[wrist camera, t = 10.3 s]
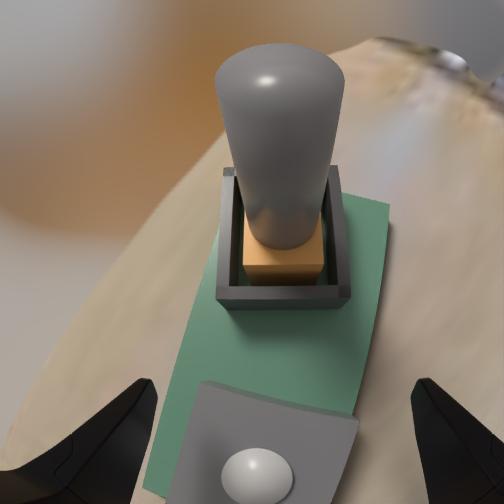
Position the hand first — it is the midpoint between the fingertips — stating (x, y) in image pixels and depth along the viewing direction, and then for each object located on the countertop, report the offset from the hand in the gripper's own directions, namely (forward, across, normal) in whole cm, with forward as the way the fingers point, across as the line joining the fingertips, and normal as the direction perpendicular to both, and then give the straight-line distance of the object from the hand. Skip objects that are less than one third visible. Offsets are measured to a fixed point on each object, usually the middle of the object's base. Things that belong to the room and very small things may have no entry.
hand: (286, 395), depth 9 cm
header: (+10, 0, -1) cm, 10 cm away
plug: (+10, 0, -1) cm, 10 cm away
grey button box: (+1, +1, +8) cm, 8 cm away
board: (+7, +1, +5) cm, 8 cm away
